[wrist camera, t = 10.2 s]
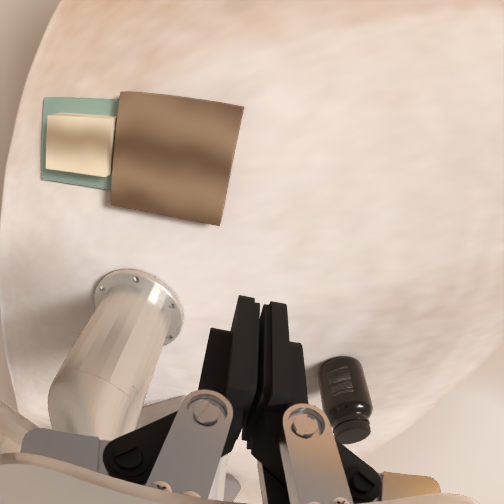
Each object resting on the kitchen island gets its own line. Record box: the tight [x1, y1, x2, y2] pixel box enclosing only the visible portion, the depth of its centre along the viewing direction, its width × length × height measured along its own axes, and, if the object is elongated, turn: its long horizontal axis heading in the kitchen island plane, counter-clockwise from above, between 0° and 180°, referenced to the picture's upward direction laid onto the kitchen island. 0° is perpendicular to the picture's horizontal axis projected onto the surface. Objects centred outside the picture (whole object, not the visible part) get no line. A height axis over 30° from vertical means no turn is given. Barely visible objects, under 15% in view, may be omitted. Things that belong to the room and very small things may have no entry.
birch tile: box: [46, 113, 117, 177], centre depth 29 cm, size 6×8×2 cm
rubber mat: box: [41, 98, 119, 190], centre depth 30 cm, size 10×11×1 cm
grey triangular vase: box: [135, 396, 228, 501], centre depth 41 cm, size 19×15×28 cm
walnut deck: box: [111, 91, 244, 226], centre depth 30 cm, size 12×12×2 cm
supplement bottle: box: [318, 357, 373, 444], centre depth 40 cm, size 7×7×12 cm
